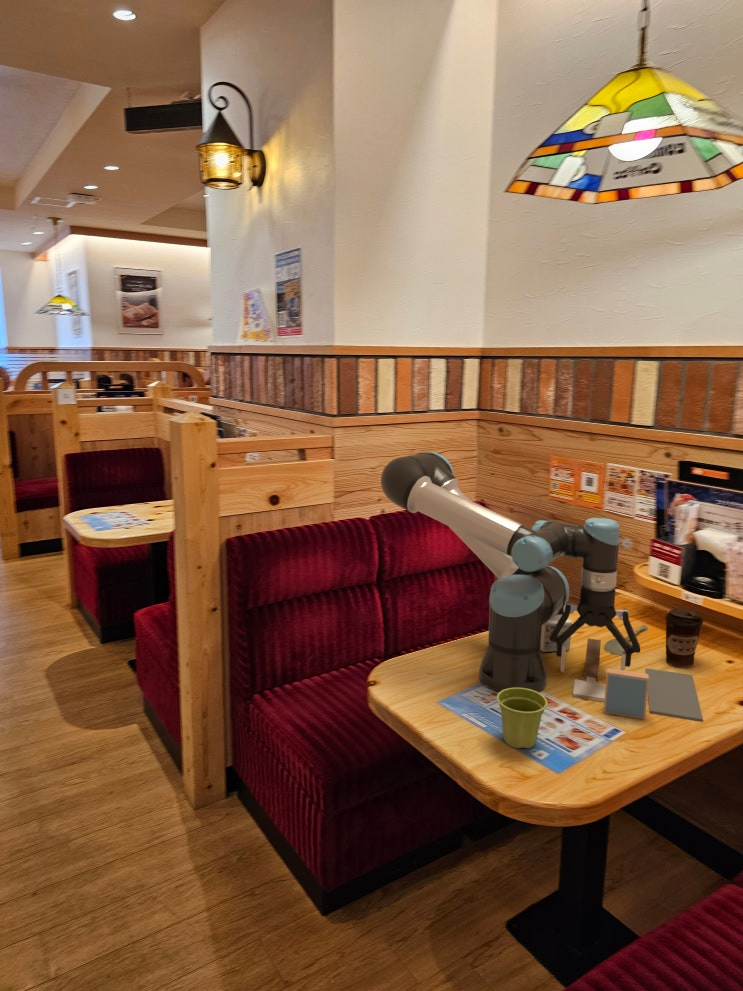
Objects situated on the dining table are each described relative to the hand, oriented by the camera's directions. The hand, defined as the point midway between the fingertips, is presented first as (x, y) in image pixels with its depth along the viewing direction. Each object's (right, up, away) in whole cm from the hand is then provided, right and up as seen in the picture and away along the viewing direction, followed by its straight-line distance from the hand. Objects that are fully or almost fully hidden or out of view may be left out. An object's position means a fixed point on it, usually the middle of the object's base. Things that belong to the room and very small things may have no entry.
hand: (591, 674), depth 156 cm
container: (-6, +3, +16) cm, 17 cm away
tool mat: (+15, -2, -9) cm, 17 cm away
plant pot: (-23, -6, -27) cm, 36 cm away
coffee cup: (+24, +1, +6) cm, 24 cm away
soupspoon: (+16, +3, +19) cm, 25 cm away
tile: (+1, -4, -17) cm, 17 cm away
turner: (-1, -1, -2) cm, 3 cm away
